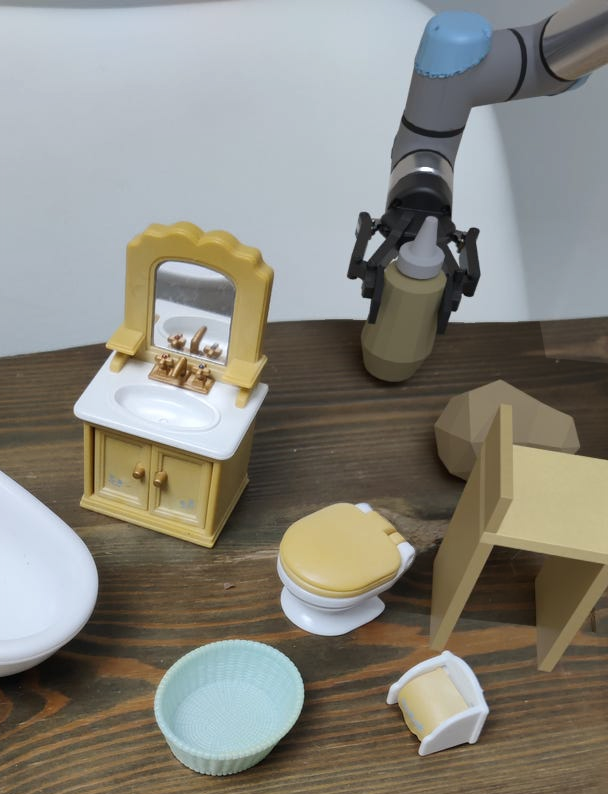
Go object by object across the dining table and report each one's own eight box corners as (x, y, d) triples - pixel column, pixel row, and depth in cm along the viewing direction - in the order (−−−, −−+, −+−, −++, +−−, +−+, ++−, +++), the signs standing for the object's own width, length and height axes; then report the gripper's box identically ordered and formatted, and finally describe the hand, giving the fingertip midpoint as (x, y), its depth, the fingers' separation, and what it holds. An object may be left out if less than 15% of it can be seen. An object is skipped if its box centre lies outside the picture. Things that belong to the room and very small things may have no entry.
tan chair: (547, 582, 96) (637, 425, 80) (550, 672, 89) (650, 521, 73) (433, 561, 97) (500, 403, 81) (429, 649, 90) (500, 496, 74)
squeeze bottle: (353, 385, 110) (391, 237, 96) (354, 341, 115) (390, 194, 100) (426, 393, 110) (475, 246, 95) (423, 348, 114) (470, 201, 100)
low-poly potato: (397, 475, 104) (475, 502, 95) (416, 370, 100) (500, 387, 91) (500, 474, 111) (583, 498, 101) (522, 375, 107) (611, 390, 97)
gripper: (493, 243, 117) (492, 362, 103) (330, 220, 119) (309, 334, 105) (514, 182, 111) (517, 300, 97) (342, 159, 113) (322, 271, 99)
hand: (409, 317), depth 101 cm, fingers closed on squeeze bottle, 6 cm apart
